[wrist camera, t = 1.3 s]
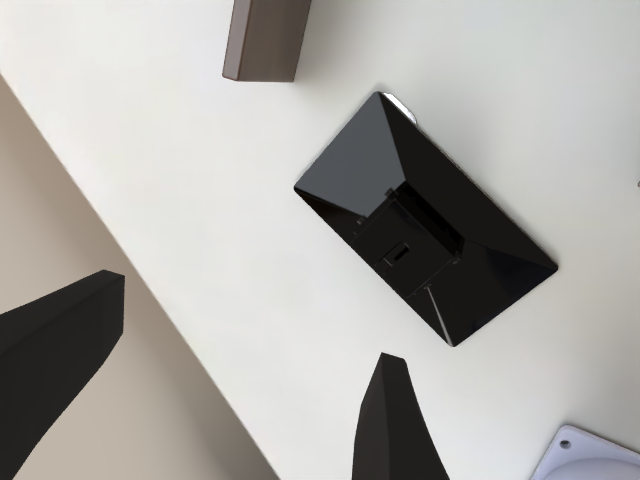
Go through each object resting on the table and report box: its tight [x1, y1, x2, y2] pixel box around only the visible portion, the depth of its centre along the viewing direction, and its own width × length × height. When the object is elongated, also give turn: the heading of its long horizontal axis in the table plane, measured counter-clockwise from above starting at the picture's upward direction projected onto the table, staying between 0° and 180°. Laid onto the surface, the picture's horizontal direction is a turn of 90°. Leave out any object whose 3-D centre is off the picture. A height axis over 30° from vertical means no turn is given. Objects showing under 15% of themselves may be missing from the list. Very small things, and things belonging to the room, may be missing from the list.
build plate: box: [294, 91, 558, 347], centre depth 24 cm, size 12×7×5 cm, turn 49°
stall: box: [222, 0, 640, 187], centre depth 19 cm, size 10×19×6 cm, turn 75°
